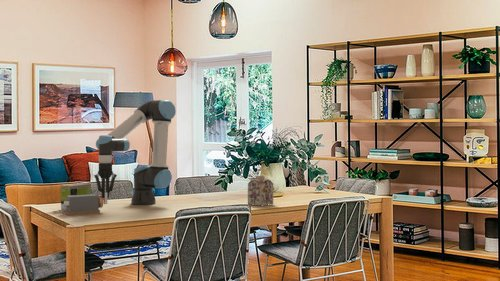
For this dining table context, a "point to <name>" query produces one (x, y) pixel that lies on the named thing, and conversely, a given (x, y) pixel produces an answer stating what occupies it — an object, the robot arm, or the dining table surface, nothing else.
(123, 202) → the dining table surface
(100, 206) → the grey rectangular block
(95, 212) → the block
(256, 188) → the decorative jar
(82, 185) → the tea box
